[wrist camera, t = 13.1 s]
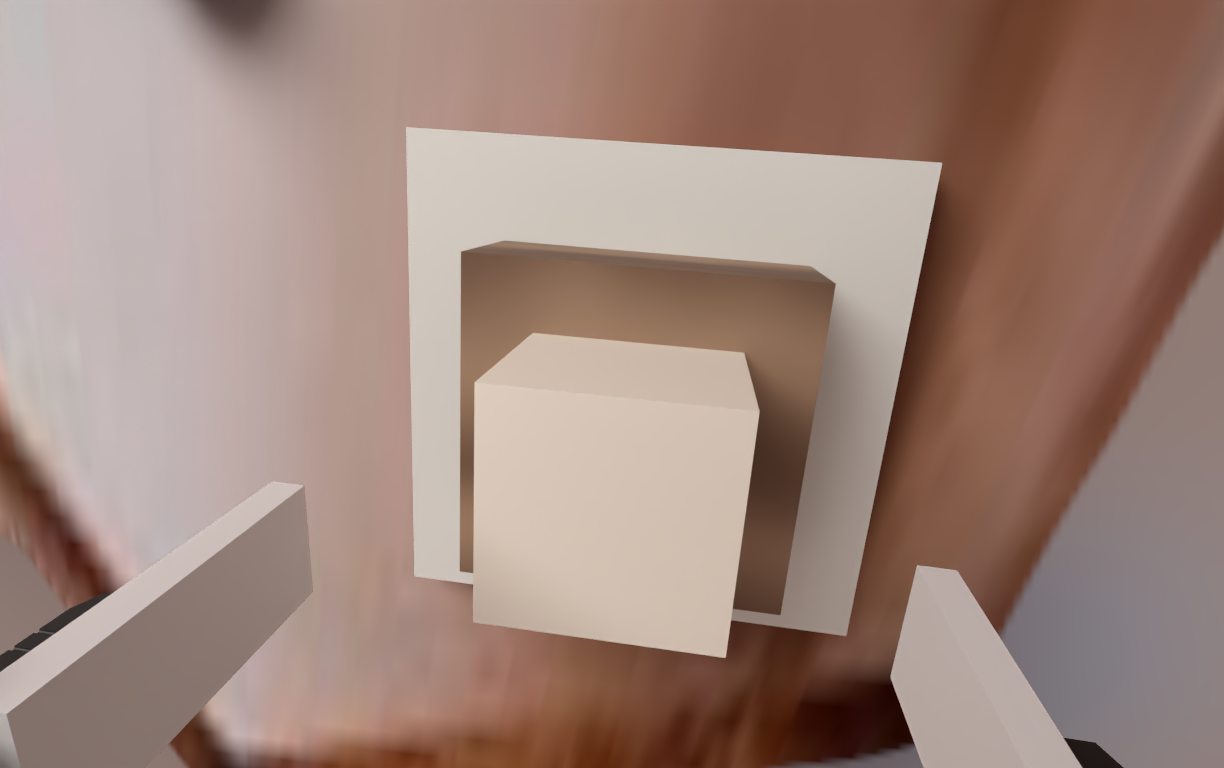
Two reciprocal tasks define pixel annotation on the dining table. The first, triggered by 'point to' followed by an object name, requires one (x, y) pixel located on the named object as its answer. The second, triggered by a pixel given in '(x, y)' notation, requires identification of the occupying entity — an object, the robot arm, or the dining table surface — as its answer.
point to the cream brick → (612, 490)
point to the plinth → (692, 226)
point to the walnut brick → (674, 316)
